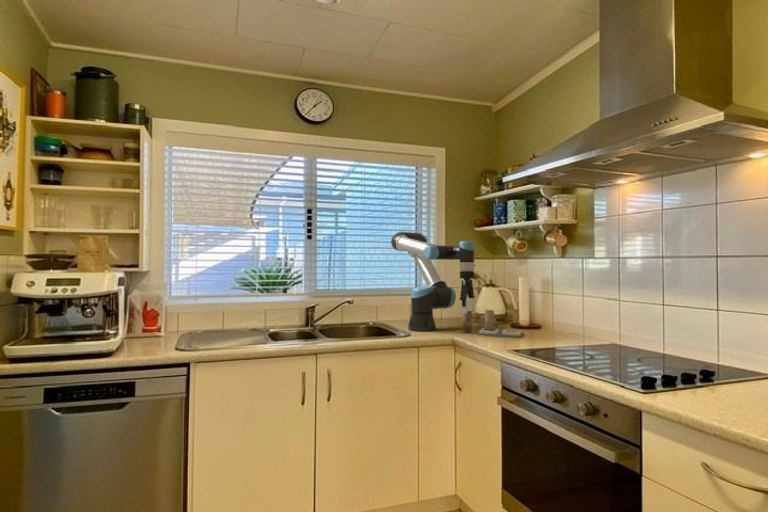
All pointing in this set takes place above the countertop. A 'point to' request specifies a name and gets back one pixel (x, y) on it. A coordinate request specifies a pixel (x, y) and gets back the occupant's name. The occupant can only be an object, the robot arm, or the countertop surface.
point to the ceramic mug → (482, 322)
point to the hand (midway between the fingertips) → (467, 311)
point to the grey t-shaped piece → (491, 331)
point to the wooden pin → (467, 322)
